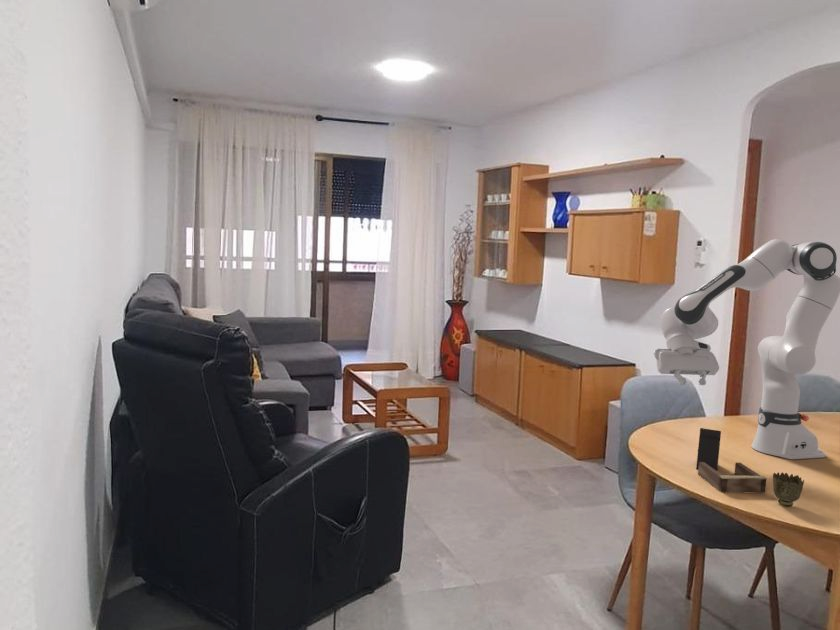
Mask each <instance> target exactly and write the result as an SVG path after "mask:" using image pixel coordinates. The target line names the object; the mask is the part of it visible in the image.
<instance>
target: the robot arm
mask: <svg viewBox="0 0 840 630" xmlns="http://www.w3.org/2000/svg"><path fill="white" fill-rule="evenodd" d="M837 256H838V255H837V252H836V250H835V249H834V248H833V246H831V245H830V244H828V243H826V242H823V241H807V242H803V243H797V244H794V245H790V244H789V243H787V242H786V241H785V240H783V239H781V238H780V239H779V238H774V239H771V240H769V241H767V242H765V243H764V244H763V245H761V246H759V247H758V248H757V249H756V250H754V251H753V252H752V253H751V254H749V255H748V256H747V257H745V259H744V260H741V262H739V263H738V264H733V265H730V266H728V267H727V268H725V269H723V270H722V271H721V272H719V273H717V274H716V275H715V276H713V277H712V278H711V279H709V280H707V281H706V282H705V283H703V284H702V285H700V286H699V287H698V288H696V289H695V290H693V291H691V292H688V293H686V294H684V295H683V296H681V297H680V298H679V299H678V300H677V301H676V303H675V306H673V307H669V308H667V309H666V310H664V311H663V313H661V317H660V326H661V331H662V334H663V337H664V338H665V340H666V347H667V348H657V349H656V350H654V351H653V352H654V353H653V355H654V358H655V359H656V368H657V371H658V373H660V374H661V375H673V376H674V377H675V379H676V380H677V381H678V382H679V385H681V386H682V385H683V386H684V385H686V384H687V380H686V377H684V376H682V375H686V376H687V375H689V376H690V375H692V376H693V375H694V376H695V375H697V376H699V377H700V379H699V380H698V383H699V386H705V385H707V381H706V378H707V376H715V375H716V374H717V373H718V372H719V371H720V365H719V362H718V360H717V357H716V356H715V354H714V353H713V351H711V349H712V348H711V345H710V344H708V343H705V342H701V341H698V340H699V339H702V338H706V337H709V336H711V335H712V334H713V333H715V331H717V329H718V326H719V320H718V319H719V318H718V317H717V316H716V315H715V313H714V312H713V311H712V308H710V307H709V306H710V304H711V303H712V302H713V301H715V300H716V299H717V298H719V297H720V296H721V295H723V294H724V293H726V292H727V291H729V290H731V289H734V288H739V289H742V290H745V291H749V292H750V291H751V292H756V291H760V290H762V289H763V288H765V287H767V286H768V285H769V284H771V282H772V281H774V280H775V279H776V278H777V277H778V276H779V275H780V274H781V273H783V272H784V271H789V272H790V273H792V274H795V275H799V276H802V277H803V284H802V288H801V289H800V291H799V292H798V294H797V296H796V297H795V299H794V301H793V303H792V305H791V307H790V309H789V310H788V311H787V313H786V315H785V316H786V317H785V328H784V332H783V335H771V336H770V335H769V336H766V337H764V338H762V340H761V341H760V342H759V343H758V346H757V353H758V356H759V359H760V366H761V367H760V368H761V376H762V395H761V401H760V402H761V403H760V404H761V405H760V407H759V410H758V415H757V418H758V419H757V421H758V425H757V430H756V433H755V436H754V438H753V442H752V444H751V448H752V449H753V450H755V451H757V452H760V453H762V454H766V455H771V456H776V457H779V458H783V459H787V460H802V459H818V458H825V457H826V453H825V452H824V451H823V450H821V448H819V441H818V440H819V439H818V438H817V436H816V435H815V434H814V433H813V432H812V431H811V430H809V429H808V428H807V427H806V426H805V425H804V424H803V423H802V421H804V422H808V421H809V419H810V418H809V416H808V415H807V414H804V413H802V414H801V413H800V412H799V403H800V394H801V390H800V386H799V385H798V380H797V375H799V376H801V375H804V374H808V373H809V372H811V371H812V370H813V369H814V367H815V365H816V363H817V362H816V361H817V360H816V359H817V357H816V353H815V352H816V346H817V344H818V339H819V336H820V334H821V331H822V329H823V327H824V326H825V323H826V321H827V320H828V318H829V316H830V315H831V312H832V310H833V309H834V307H835V305H836V303H837V301H838V298H839V296H840V277H839V276H838V275H837V274H836V272H837V258H838V257H837Z"/></svg>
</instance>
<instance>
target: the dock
mask: <svg viewBox="0 0 840 630" xmlns="http://www.w3.org/2000/svg"><path fill="white" fill-rule="evenodd" d="M697 470H698V471H697V476H699V477H700V476H701V477H700V478H701V479H702V480H704V479H705V480H704V481H706V482H707V483H708V482H709V484H710V485H711V486H712V487H713V488H715V489H716V490H717V491H719V492H720V493H744V492H756V493H758V494H759V493H766V490H767V489H766V487H767V478H768V477H766V476H764V475H762V474H761V475H760V474H759V473H758V472H757V471H755V470H753V469H751V468H750V467H748V466H746V465H745V464H743V463H742V462H735V464H734V473H733V475H731V474H730V475H728V474H727V475H726V474H725V475H723V474H721V473H720V472H719V471H718V470H717V471H716V470H715V469H713V468H712V467H710V466H709V465H707V464H706V463H705V462H699V468H698V469H697ZM756 493H755V494H756Z"/></svg>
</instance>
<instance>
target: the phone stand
mask: <svg viewBox="0 0 840 630" xmlns="http://www.w3.org/2000/svg"><path fill="white" fill-rule="evenodd" d="M721 435H722V431H721V430H714V429H710V428H702V427H700V429H699V437H698V448H697V456H696V467H695V468H696V470H698V468H699V462H705V463H706V464H707V465H709V466H710V467H712V468H713V469H715V470H716V471H717V472H718V468H719V467H718V466H719V455H720V446H721V437H722V436H721Z"/></svg>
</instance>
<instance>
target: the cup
mask: <svg viewBox="0 0 840 630" xmlns="http://www.w3.org/2000/svg"><path fill="white" fill-rule="evenodd" d="M804 484H805V479H803V480H802V477H800V476H799V475H798V474H797V475H793V473H791V474H790V476H789V474H788V473H787V472H785V473H784V472H781V473H780V472H777V473H775V472H773V474H772V487H773V488H772V489H773V493H774V496H775V497H776V498H778V499H777V502H778V505H779V506H782V507H785V508H792V507H793V505H794V502H796V501H798V500H799V499H800V497H801V495H802V491H803V487H804Z"/></svg>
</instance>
